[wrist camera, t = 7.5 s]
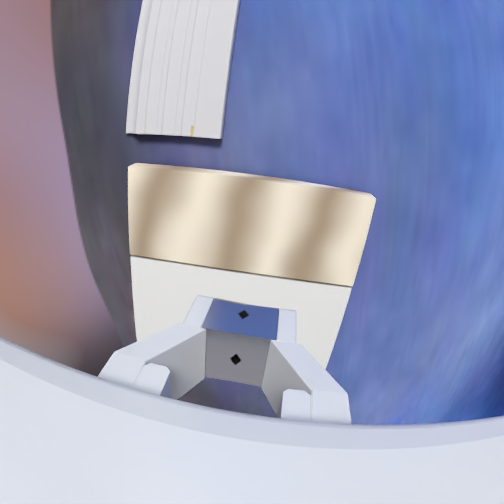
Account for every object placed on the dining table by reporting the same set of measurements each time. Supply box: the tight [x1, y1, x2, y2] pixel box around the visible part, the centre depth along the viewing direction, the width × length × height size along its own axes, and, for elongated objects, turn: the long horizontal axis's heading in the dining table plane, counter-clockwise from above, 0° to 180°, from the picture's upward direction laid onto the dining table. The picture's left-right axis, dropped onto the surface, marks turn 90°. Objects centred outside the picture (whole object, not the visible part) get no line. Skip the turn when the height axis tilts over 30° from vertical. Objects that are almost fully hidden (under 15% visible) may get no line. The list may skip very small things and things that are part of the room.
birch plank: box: [128, 163, 376, 286], centre depth 27 cm, size 20×8×2 cm, turn 83°
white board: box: [131, 255, 352, 369], centre depth 31 cm, size 20×10×2 cm, turn 83°
